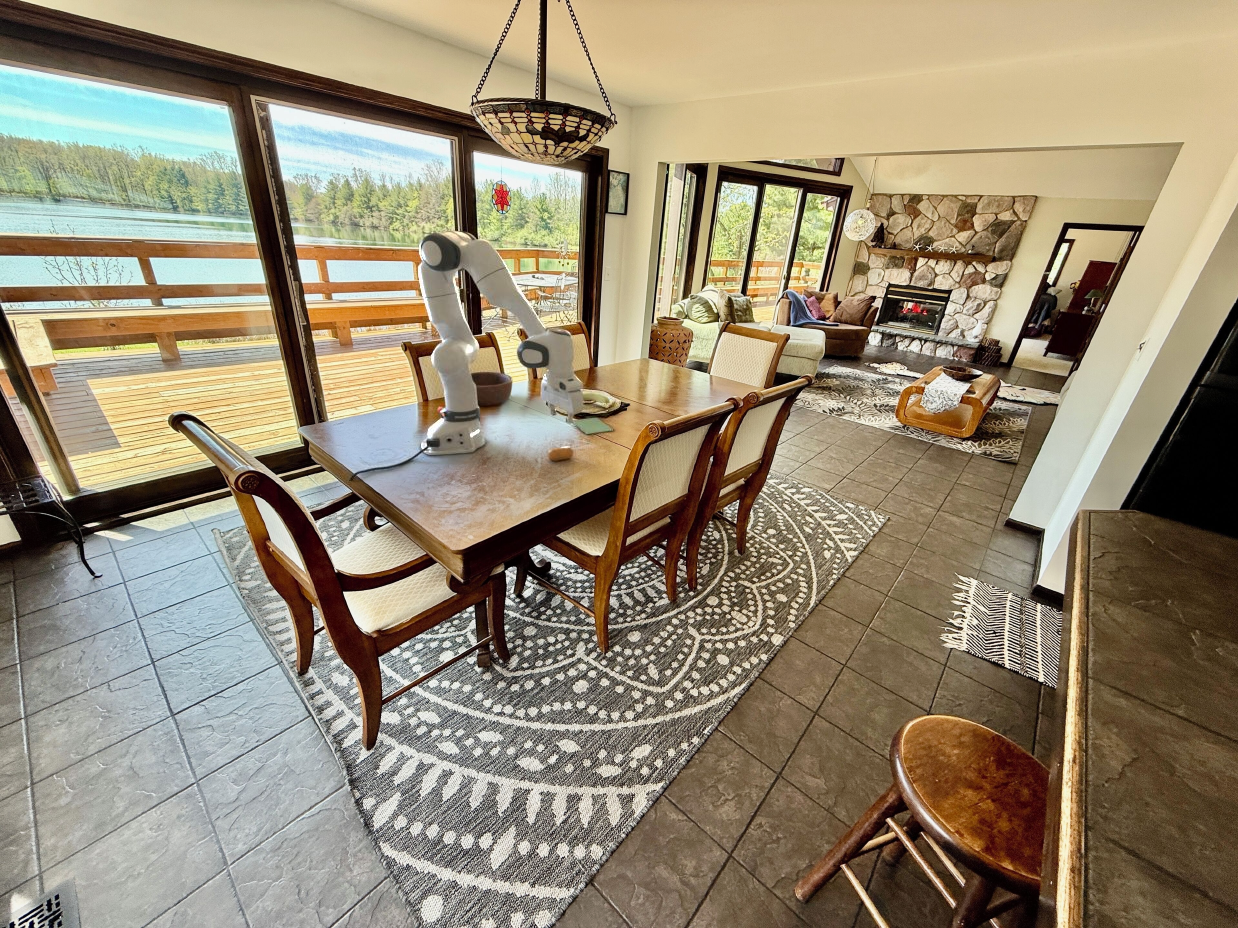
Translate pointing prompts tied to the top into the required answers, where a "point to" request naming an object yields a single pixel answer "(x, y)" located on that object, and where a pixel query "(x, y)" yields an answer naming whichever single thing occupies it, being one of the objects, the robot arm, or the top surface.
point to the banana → (595, 398)
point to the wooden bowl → (492, 387)
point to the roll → (560, 453)
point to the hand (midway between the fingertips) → (561, 418)
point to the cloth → (592, 425)
